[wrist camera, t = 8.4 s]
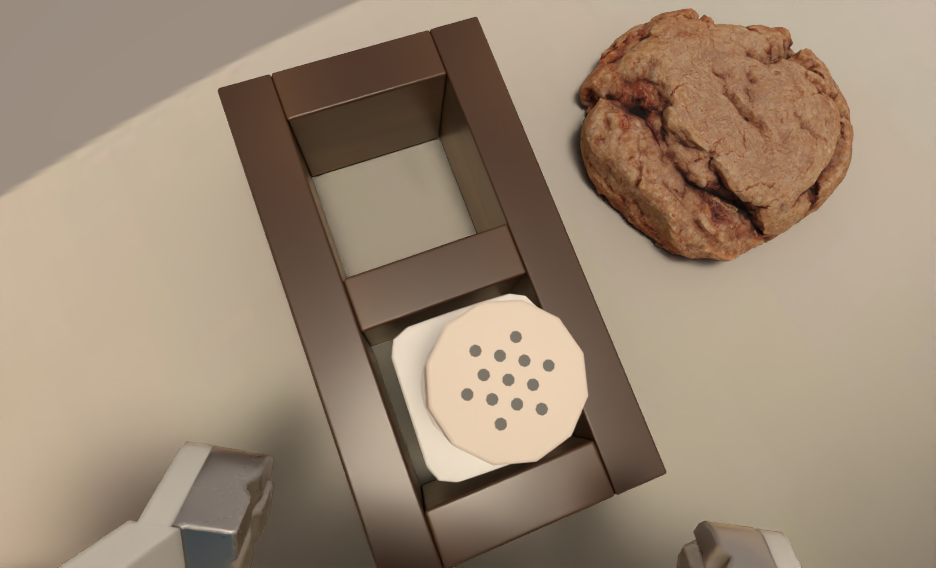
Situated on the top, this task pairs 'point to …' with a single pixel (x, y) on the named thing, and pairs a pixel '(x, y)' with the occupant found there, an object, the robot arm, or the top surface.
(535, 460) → the pepper shaker
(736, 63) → the cookie
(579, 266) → the spice caddy
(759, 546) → the robot arm
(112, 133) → the top surface
